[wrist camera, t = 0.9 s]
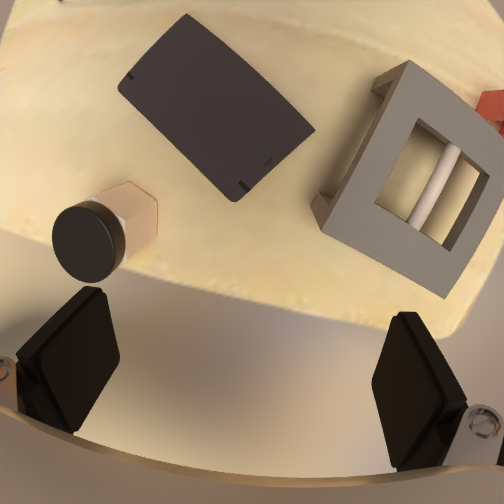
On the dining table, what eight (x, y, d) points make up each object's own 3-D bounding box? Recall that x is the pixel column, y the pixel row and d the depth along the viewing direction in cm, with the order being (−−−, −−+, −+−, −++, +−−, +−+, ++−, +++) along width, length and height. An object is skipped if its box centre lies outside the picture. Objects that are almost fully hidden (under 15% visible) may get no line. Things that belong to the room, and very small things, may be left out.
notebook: (314, 130, 34) (189, 16, 30) (315, 130, 33) (186, 12, 28) (235, 202, 38) (120, 89, 34) (234, 205, 36) (114, 88, 32)
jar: (94, 221, 40) (41, 252, 29) (117, 171, 37) (62, 188, 26) (143, 258, 41) (101, 301, 30) (172, 209, 38) (131, 240, 27)
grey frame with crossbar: (377, 76, 30) (409, 59, 21) (474, 148, 32) (521, 156, 22) (310, 206, 37) (320, 231, 27) (412, 263, 38) (444, 299, 29)
